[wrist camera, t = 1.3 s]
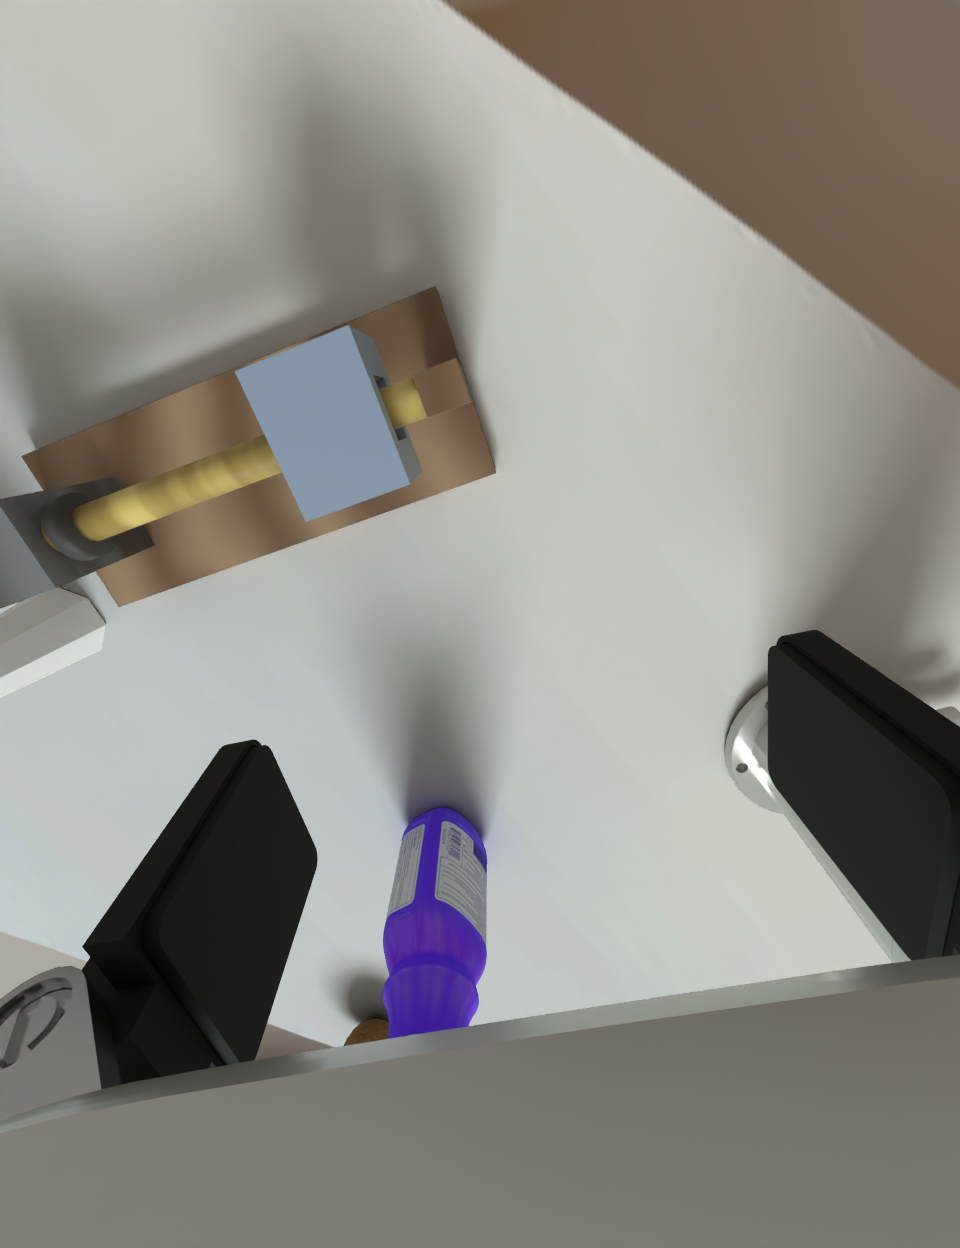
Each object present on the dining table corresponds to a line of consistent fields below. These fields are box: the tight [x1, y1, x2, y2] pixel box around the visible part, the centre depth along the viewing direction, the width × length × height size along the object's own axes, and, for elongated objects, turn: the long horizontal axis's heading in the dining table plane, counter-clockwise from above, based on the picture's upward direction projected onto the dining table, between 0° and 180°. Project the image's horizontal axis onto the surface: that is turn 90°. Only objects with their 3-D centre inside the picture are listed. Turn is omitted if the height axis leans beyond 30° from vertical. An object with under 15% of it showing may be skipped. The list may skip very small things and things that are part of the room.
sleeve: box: [235, 325, 422, 522], centre depth 24 cm, size 5×6×5 cm
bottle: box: [382, 808, 487, 1039], centre depth 35 cm, size 7×6×17 cm
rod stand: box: [0, 286, 496, 608], centre depth 28 cm, size 26×10×10 cm, turn 109°
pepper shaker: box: [0, 587, 106, 698], centre depth 31 cm, size 5×5×11 cm
